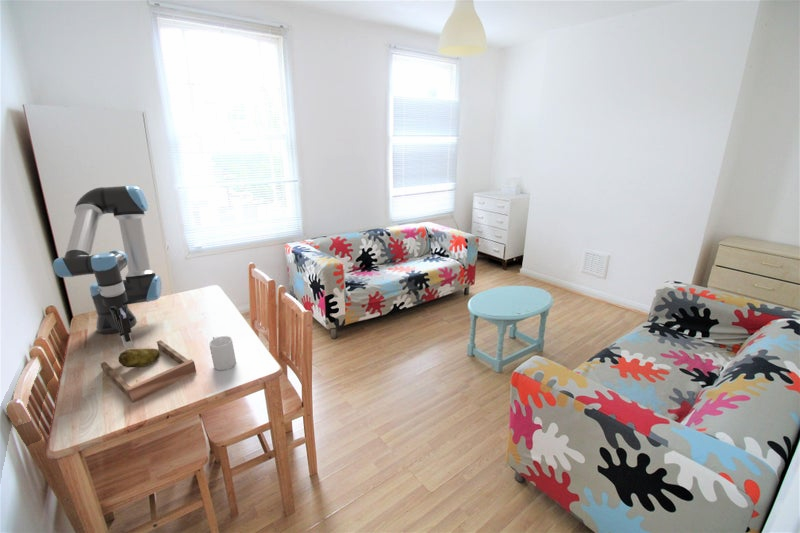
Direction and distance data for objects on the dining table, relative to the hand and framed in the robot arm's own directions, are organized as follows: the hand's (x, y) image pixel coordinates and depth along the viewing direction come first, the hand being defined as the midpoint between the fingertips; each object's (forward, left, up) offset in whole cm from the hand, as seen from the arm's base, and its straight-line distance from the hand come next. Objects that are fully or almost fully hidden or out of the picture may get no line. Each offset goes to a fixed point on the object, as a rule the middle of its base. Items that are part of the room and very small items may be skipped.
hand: (129, 347), depth 148 cm
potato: (+10, 0, -5) cm, 11 cm away
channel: (+16, 0, -5) cm, 17 cm away
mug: (+34, +20, -5) cm, 40 cm away
